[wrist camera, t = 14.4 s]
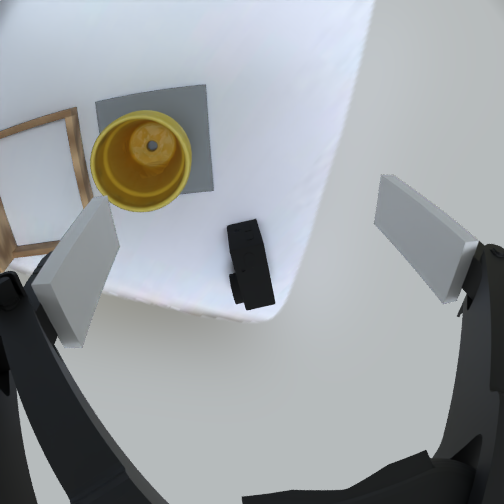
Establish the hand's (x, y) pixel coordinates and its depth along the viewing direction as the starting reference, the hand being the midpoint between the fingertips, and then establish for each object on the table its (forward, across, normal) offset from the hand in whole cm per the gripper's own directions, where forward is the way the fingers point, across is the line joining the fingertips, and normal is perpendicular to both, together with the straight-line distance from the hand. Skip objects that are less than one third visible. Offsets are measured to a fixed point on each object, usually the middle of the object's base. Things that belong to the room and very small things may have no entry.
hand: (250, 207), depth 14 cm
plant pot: (+26, -9, -2) cm, 28 cm away
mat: (+27, -9, -2) cm, 28 cm away
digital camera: (+27, +2, -20) cm, 33 cm away
